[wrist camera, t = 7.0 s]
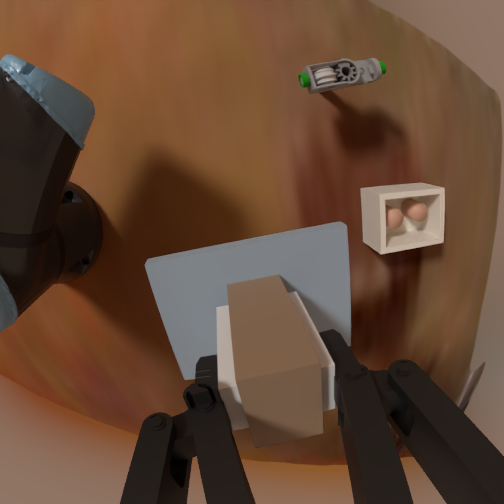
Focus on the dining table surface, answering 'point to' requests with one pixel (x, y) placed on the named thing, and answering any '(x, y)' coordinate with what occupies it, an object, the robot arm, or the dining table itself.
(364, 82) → the mechanical component
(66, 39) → the dining table surface
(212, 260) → the lid
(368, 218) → the box
